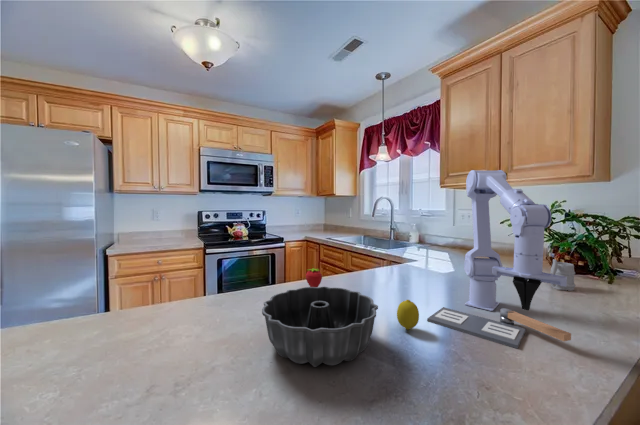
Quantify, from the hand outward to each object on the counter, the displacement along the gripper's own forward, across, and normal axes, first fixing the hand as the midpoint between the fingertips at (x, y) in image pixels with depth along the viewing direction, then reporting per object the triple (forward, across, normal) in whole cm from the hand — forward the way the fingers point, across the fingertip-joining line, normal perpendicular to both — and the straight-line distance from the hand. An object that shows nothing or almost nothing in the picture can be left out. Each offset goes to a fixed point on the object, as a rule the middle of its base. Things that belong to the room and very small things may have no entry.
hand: (525, 308), depth 69 cm
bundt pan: (+8, -34, -38) cm, 52 cm away
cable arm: (+5, +1, +4) cm, 7 cm away
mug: (+8, +3, +61) cm, 62 cm away
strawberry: (+8, -63, -11) cm, 64 cm away
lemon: (+8, -23, -16) cm, 29 cm away
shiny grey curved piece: (+8, -5, +7) cm, 11 cm away
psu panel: (+8, -11, -1) cm, 13 cm away
